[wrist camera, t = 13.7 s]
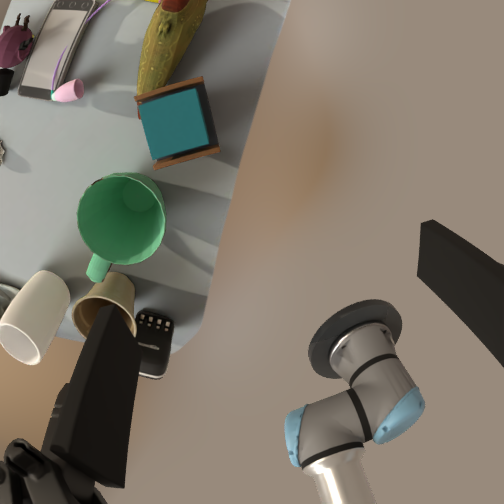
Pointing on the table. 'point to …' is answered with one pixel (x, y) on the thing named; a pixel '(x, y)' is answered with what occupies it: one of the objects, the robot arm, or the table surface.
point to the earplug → (71, 88)
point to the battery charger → (154, 343)
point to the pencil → (155, 1)
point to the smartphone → (55, 47)
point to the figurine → (13, 50)
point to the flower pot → (106, 302)
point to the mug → (121, 221)
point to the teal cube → (174, 123)
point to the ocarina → (167, 41)
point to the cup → (34, 317)
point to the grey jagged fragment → (1, 153)
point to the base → (213, 141)
